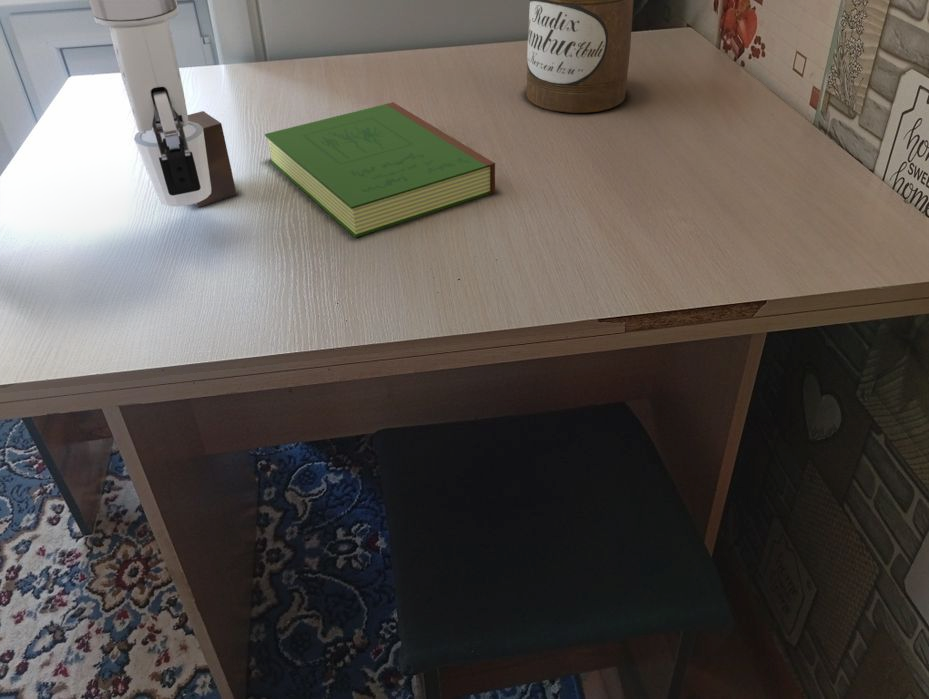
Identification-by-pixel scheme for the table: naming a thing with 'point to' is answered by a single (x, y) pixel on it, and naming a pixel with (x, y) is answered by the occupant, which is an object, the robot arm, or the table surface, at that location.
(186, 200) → the white cup
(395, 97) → the table surface
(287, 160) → the hardcover book
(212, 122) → the walnut block
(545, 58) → the wooden container
